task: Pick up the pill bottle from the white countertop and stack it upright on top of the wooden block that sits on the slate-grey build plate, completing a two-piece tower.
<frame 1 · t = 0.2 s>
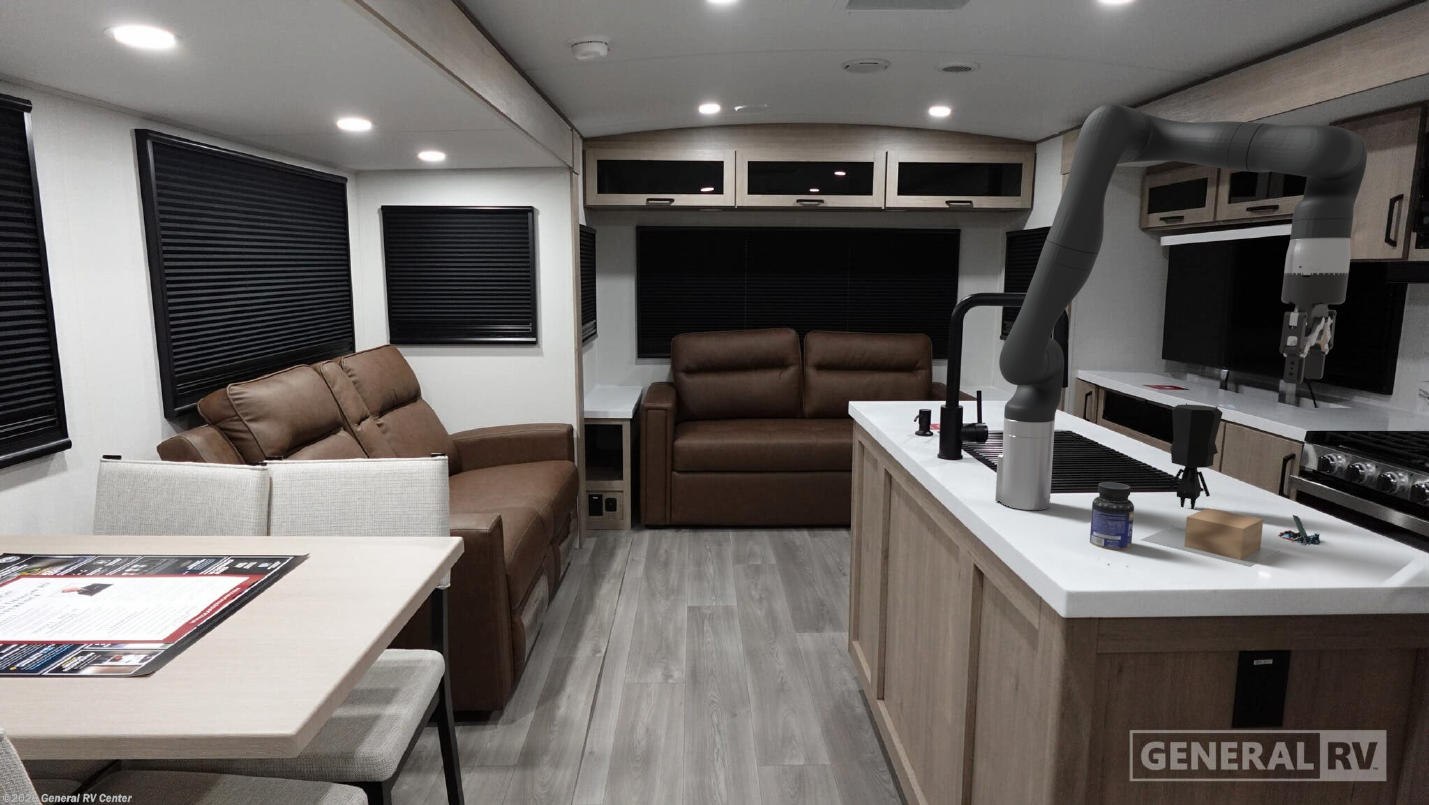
hand: (1302, 381, 118), 29 cm above the kitchen island counter, fingers open, 8 cm apart
pill bottle: (1109, 552, 130), on the kitchen island counter
toy: (1187, 509, 153), on the kitchen island counter
build plate: (1207, 551, 129), on the kitchen island counter
wooden block: (1222, 548, 127), point 1 cm above the kitchen island counter, touching build plate
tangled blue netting: (1298, 550, 132), on the kitchen island counter
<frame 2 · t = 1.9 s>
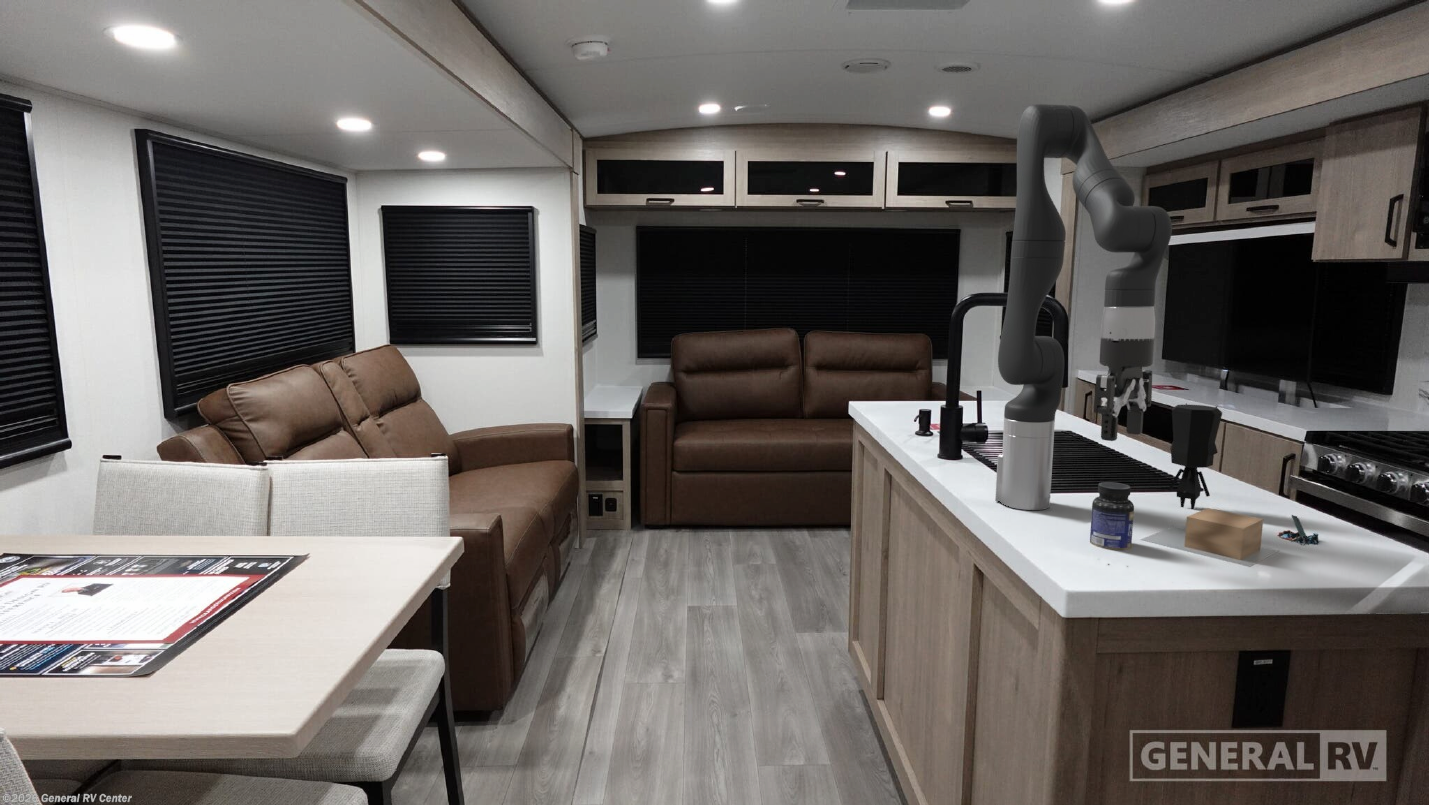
hand: (1121, 437, 127), 19 cm above the kitchen island counter, fingers open, 8 cm apart
nothing on the kitchen island counter moved.
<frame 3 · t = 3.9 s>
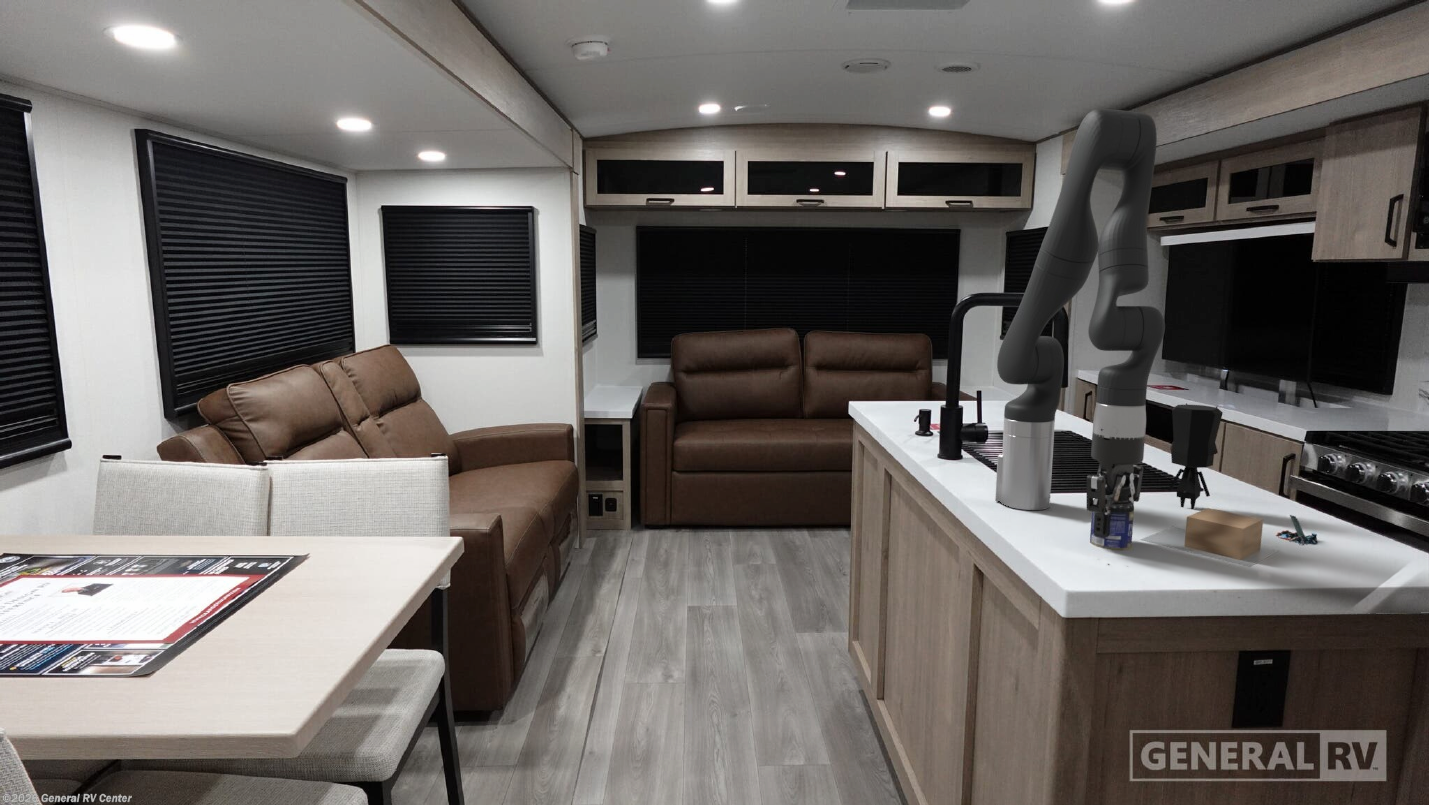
hand: (1111, 532, 129), 3 cm above the kitchen island counter, fingers closed on pill bottle, 6 cm apart
pill bottle: (1109, 552, 130), on the kitchen island counter, touching gripper
everything else where it was.
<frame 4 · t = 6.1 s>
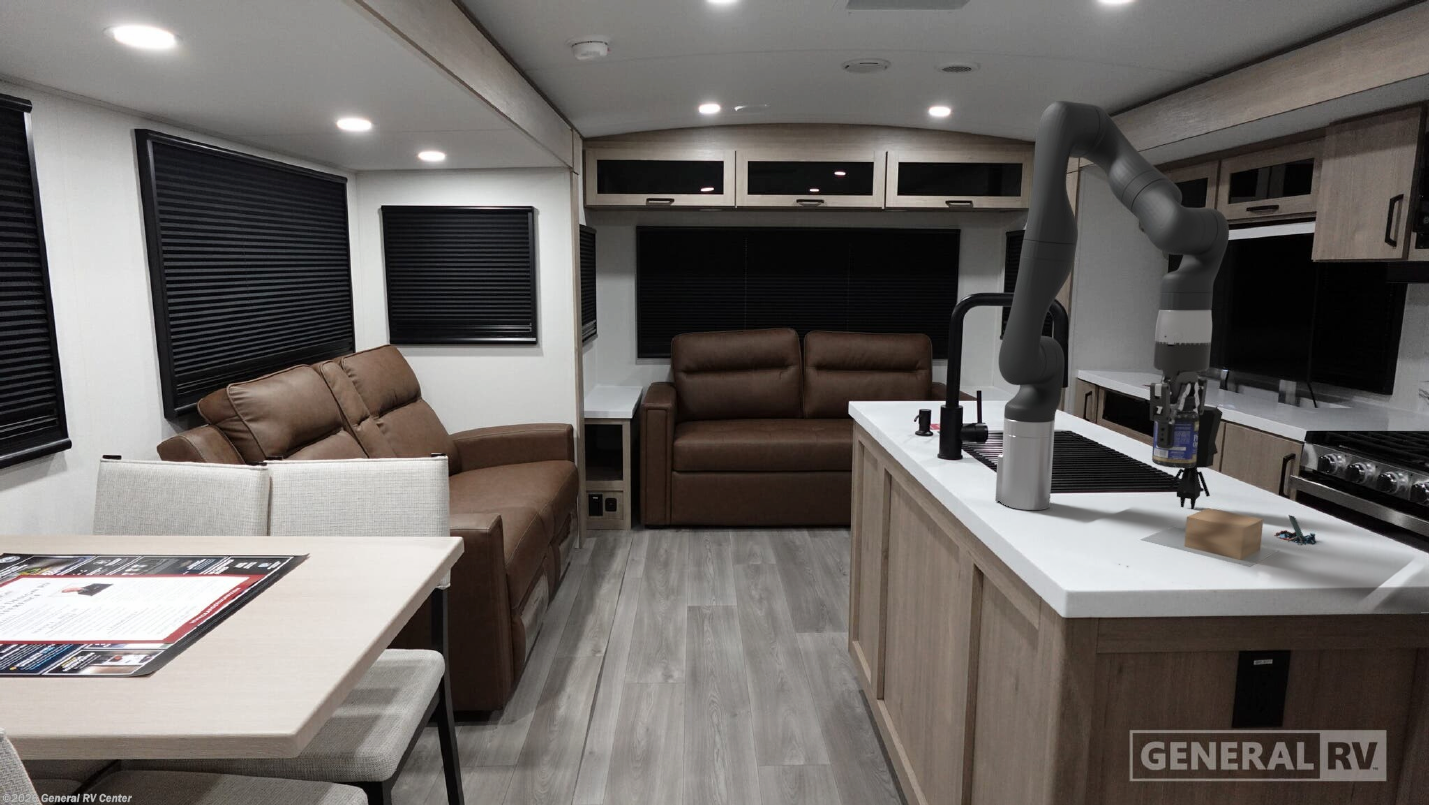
hand: (1175, 445, 125), 18 cm above the kitchen island counter, fingers closed on pill bottle, 6 cm apart
pill bottle: (1173, 466, 126), point 15 cm above the kitchen island counter, touching gripper
everything else where it was.
when the fingers open (10 cm above the kitchen island counter, at t = 8.5 s): pill bottle stays where it is, resting on wooden block.
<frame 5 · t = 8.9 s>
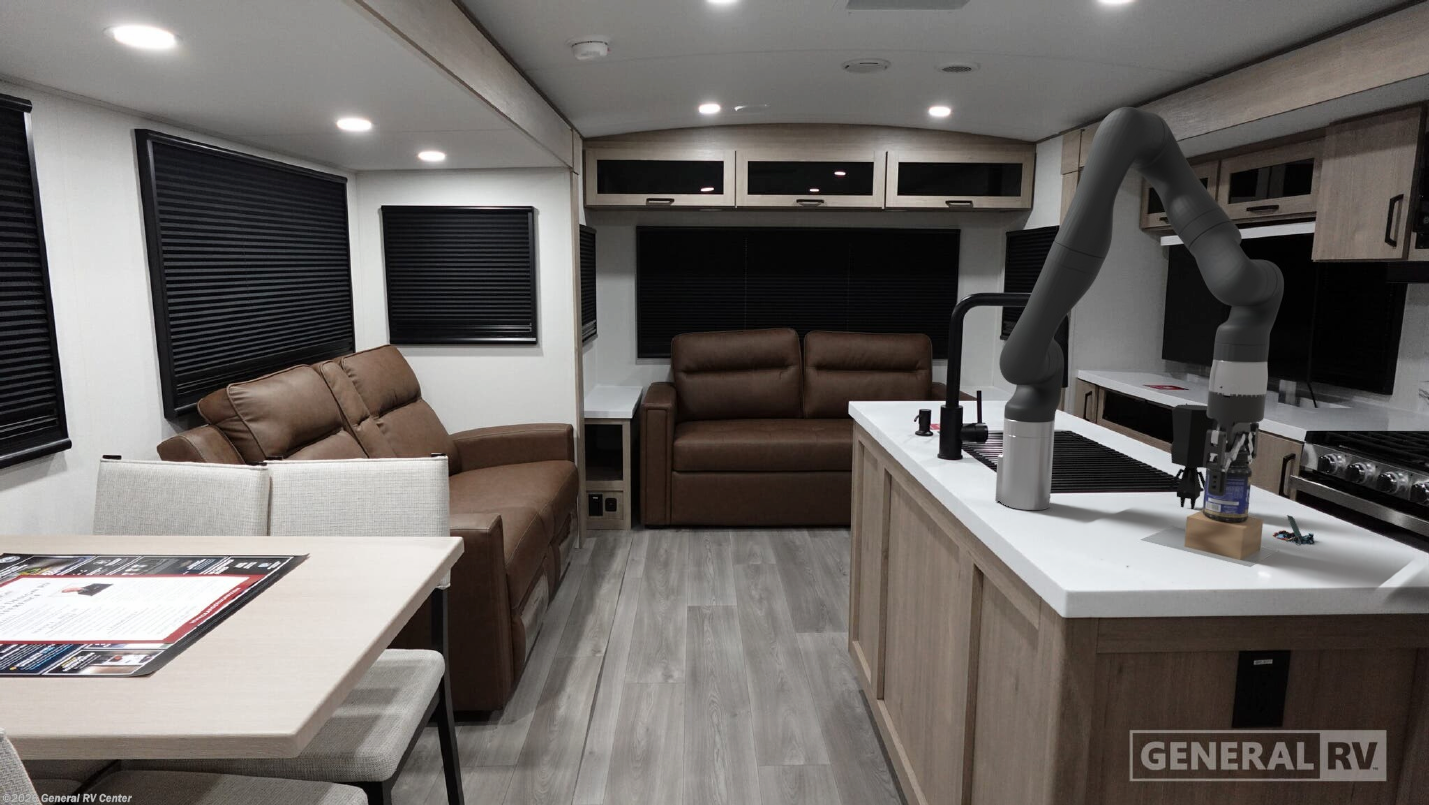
hand: (1227, 490, 126), 11 cm above the kitchen island counter, fingers open, 8 cm apart
pill bottle: (1224, 519, 127), point 6 cm above the kitchen island counter, touching wooden block
wooden block: (1222, 548, 127), point 1 cm above the kitchen island counter, touching build plate, pill bottle
everything else where it was.
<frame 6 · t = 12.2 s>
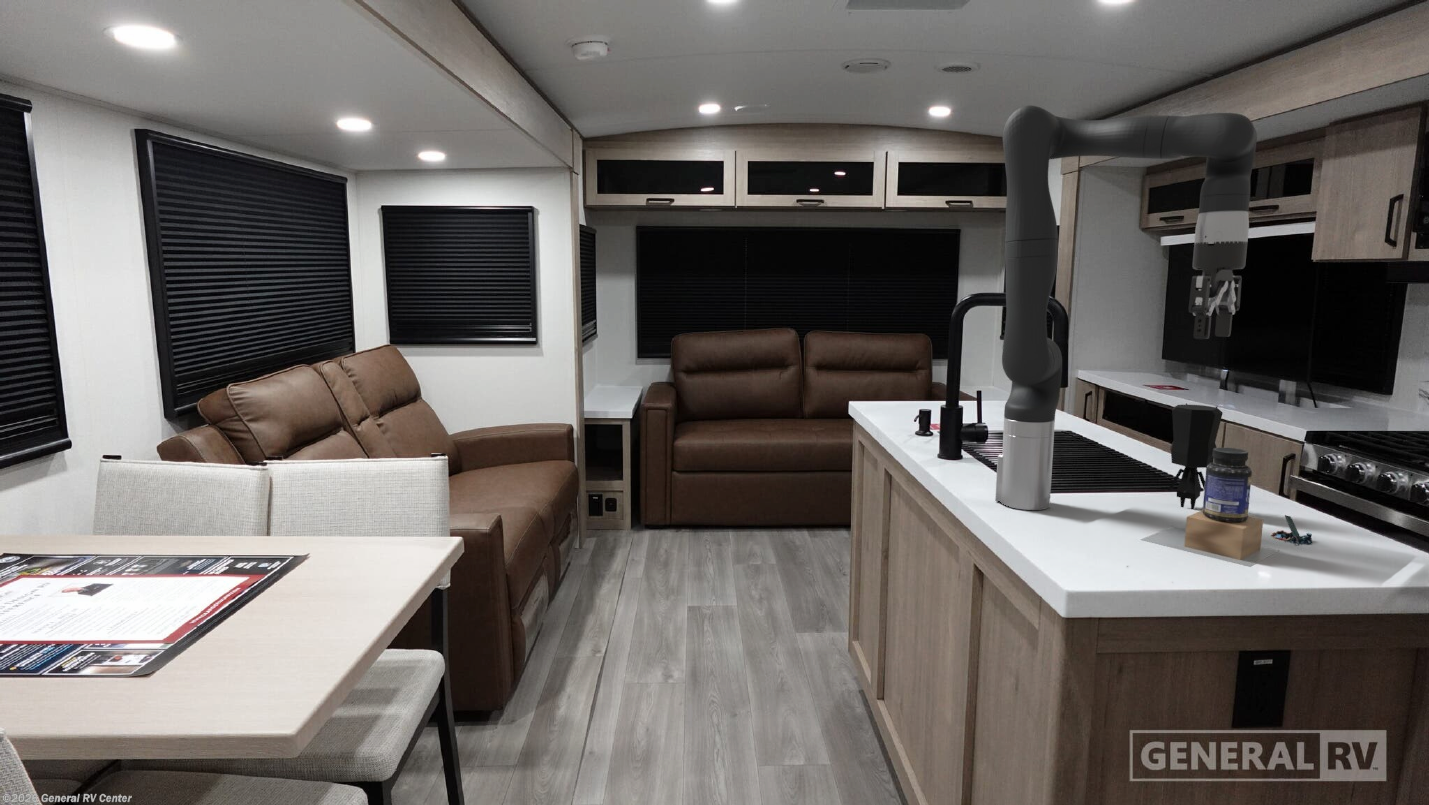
hand: (1212, 337, 134), 34 cm above the kitchen island counter, fingers open, 8 cm apart
at the end: pill bottle 0.1 cm off-centre on the wooden block, point 4.8 cm above the wooden block's base; pill bottle tilted 0°; the gripper is holding nothing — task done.
